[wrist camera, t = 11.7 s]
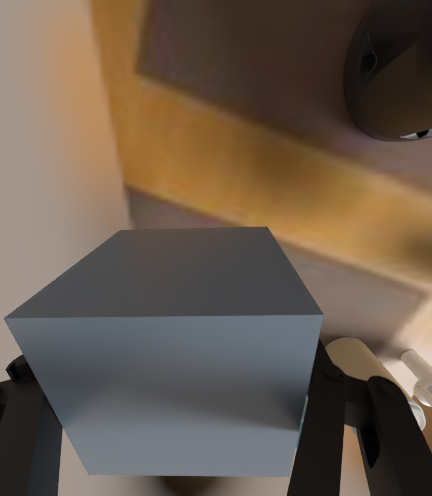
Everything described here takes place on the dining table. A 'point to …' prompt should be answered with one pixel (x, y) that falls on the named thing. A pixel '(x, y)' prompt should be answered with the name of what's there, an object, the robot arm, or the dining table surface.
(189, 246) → the slate blue cube
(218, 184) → the dining table surface
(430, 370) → the white hollow stepped cylinder
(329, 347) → the coffee cup
